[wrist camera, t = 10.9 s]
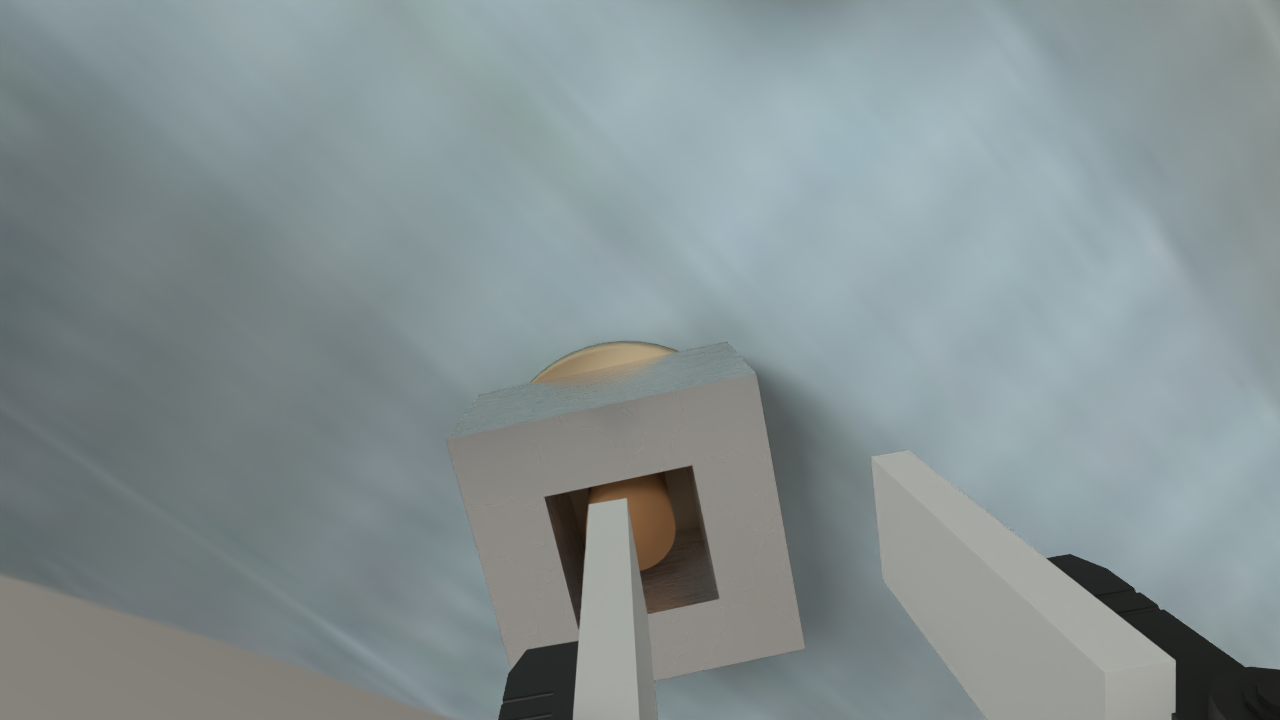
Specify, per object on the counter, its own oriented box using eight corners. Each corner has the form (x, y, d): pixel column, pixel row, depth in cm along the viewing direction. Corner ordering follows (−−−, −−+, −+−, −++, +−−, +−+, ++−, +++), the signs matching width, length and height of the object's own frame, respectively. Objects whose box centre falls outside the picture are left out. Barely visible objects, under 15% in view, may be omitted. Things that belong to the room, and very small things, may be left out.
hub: (447, 497, 27) (406, 569, 21) (594, 288, 25) (590, 307, 20) (655, 627, 28) (665, 724, 23) (805, 437, 27) (854, 492, 21)
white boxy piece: (479, 394, 24) (446, 439, 19) (727, 341, 24) (756, 373, 19) (538, 616, 26) (522, 708, 21) (768, 567, 26) (805, 648, 21)
